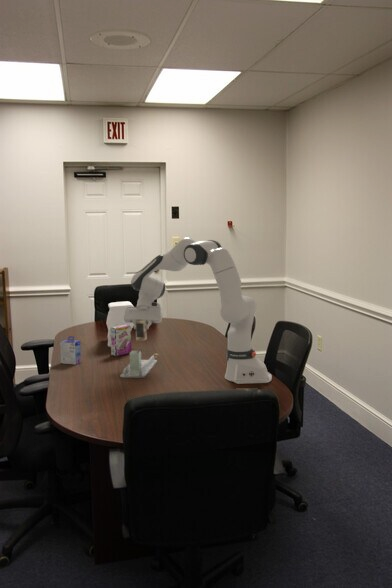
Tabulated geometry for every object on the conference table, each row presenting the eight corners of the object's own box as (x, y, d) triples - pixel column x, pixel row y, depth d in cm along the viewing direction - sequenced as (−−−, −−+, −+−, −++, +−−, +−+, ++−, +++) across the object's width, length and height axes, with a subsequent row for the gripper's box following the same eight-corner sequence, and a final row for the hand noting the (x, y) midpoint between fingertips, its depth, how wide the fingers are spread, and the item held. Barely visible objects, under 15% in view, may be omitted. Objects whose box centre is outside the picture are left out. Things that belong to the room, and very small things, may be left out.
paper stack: (104, 349, 296) (102, 307, 292) (107, 338, 322) (105, 300, 318) (139, 347, 298) (138, 305, 294) (139, 337, 324) (138, 298, 321)
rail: (156, 361, 266) (156, 342, 265) (144, 377, 239) (143, 355, 237) (135, 361, 268) (134, 341, 267) (120, 377, 241) (119, 355, 239)
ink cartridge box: (82, 362, 268) (80, 336, 266) (76, 365, 263) (74, 338, 261) (66, 360, 272) (65, 335, 270) (60, 363, 267) (59, 337, 265)
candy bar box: (116, 356, 278) (114, 328, 276) (111, 355, 281) (109, 327, 279) (132, 352, 286) (131, 325, 283) (126, 351, 289) (125, 324, 287)
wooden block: (146, 338, 260) (146, 319, 258) (144, 340, 254) (143, 322, 253) (138, 338, 260) (137, 319, 259) (135, 340, 255) (135, 321, 253)
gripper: (124, 303, 263) (120, 325, 255) (162, 303, 260) (158, 325, 252) (127, 310, 268) (123, 331, 260) (164, 310, 265) (160, 332, 257)
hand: (140, 328), depth 256 cm, fingers closed on wooden block, 4 cm apart
